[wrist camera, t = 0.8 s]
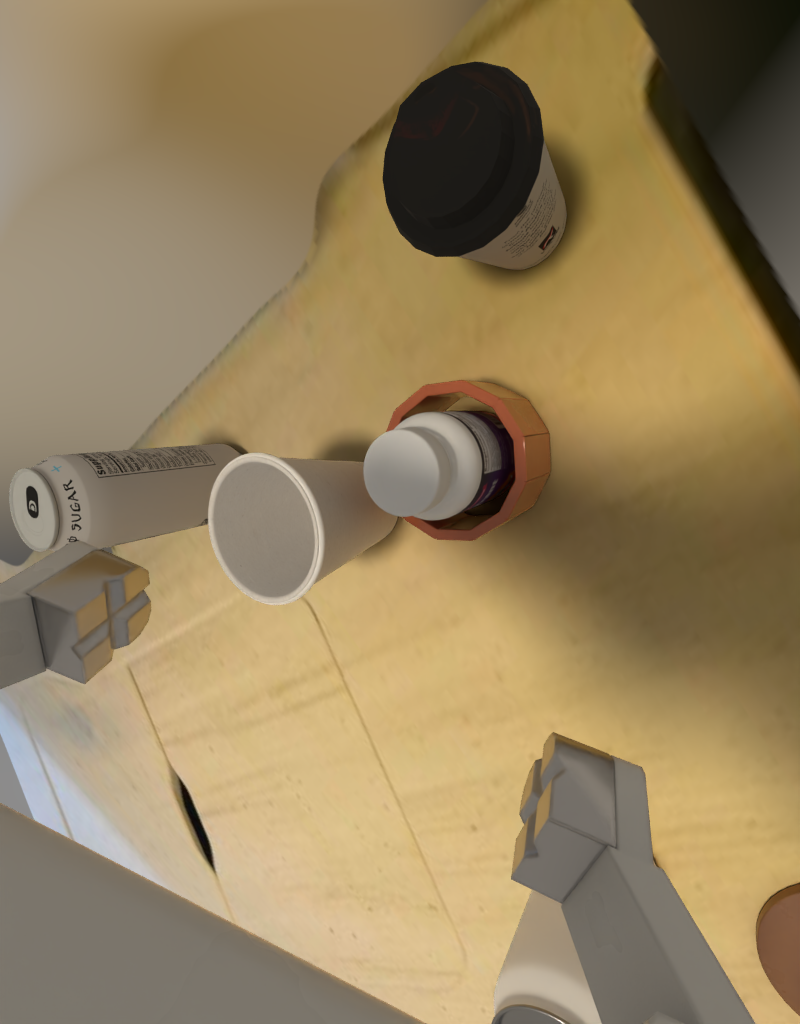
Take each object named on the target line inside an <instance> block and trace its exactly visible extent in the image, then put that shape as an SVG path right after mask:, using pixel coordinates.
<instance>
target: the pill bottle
mask: <svg viewBox="0 0 800 1024" xmlns="http://www.w3.org/2000/svg"><path fill="white" fill-rule="evenodd" d="M363 474H364V481H365V485H366V488H367V491H368V493H369V495H370V496H371V498H372V500H373V501H374V502H375V503H376V504H377V505H378V506H379V507H380V508H381V509H382V510H384V511H385V512H387V513H389V514H392V515H395V516H400V517H409V516H414V517H417V518H420V519H424V520H441V519H446V518H450V517H452V516H455V515H457V514H459V513H462V512H464V511H466V510H469V509H471V508H474V507H476V506H478V505H481V504H483V503H485V502H488V501H490V500H492V499H495V498H496V497H498V496H500V495H501V494H503V493H504V492H505V491H507V490H508V489H509V488H510V486H511V485H512V484H513V483H514V481H515V461H514V442H513V439H512V437H511V436H510V434H509V433H508V431H507V429H506V428H505V426H504V425H503V423H502V422H501V420H500V418H499V417H498V416H496V415H494V414H491V413H488V412H482V411H448V412H424V413H419V414H416V415H413V416H411V417H409V418H407V419H405V420H404V421H402V422H401V423H400V424H399V425H397V426H396V427H395V428H394V430H391V431H388V432H385V433H383V434H382V435H380V436H379V437H378V438H377V439H375V440H374V442H373V443H372V444H371V446H370V447H369V449H368V451H367V453H366V456H365V460H364V466H363Z"/></svg>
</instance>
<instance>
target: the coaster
mask: <svg viewBox="0 0 800 1024" xmlns="http://www.w3.org/2000/svg"><path fill="white" fill-rule="evenodd" d="M756 940H757V950H758V954H759V959H760V961H761V964H762V967H763V969H764V971H765V973H766V975H767V977H768V979H769V980H770V982H771V984H772V985H773V986H774V988H775V989H776V991H777V992H778V993H779V995H780V996H781V997H782V998H783V999H784V1001H785V1002H786V1003H787V1004H788V1005H789V1006H790V1007H791V1008H792V1009H793V1010H794V1011H795V1012H796V1013H797V1014H798V1015H799V1016H800V884H797V885H794V886H791V887H788V888H786V889H784V890H782V891H780V892H779V893H777V894H776V895H775V896H773V897H772V898H771V899H770V900H769V901H768V902H767V903H766V904H765V906H764V907H763V909H762V911H761V912H760V914H759V918H758V921H757V927H756Z"/></svg>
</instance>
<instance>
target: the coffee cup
mask: <svg viewBox="0 0 800 1024" xmlns="http://www.w3.org/2000/svg"><path fill="white" fill-rule="evenodd" d="M383 184H384V190H385V197H386V203H387V206H388V209H389V212H390V214H391V216H392V218H393V220H394V222H395V224H396V226H397V228H398V230H399V232H400V234H401V235H402V236H404V237H405V238H406V239H407V240H408V241H409V242H410V243H411V244H412V245H413V246H414V247H415V248H416V249H418V250H421V251H423V252H426V253H428V254H431V255H433V256H436V257H455V256H458V257H462V258H466V259H470V260H474V261H478V262H482V263H486V264H490V265H494V266H498V267H502V268H506V269H510V270H524V269H527V268H530V267H533V266H536V265H537V264H539V263H540V262H541V261H543V260H544V259H546V258H547V257H548V256H549V255H550V254H551V253H552V251H553V250H554V249H555V248H556V247H557V245H558V243H559V241H560V239H561V237H562V235H563V233H564V230H565V224H566V218H567V212H566V204H565V199H564V196H563V194H562V191H561V188H560V185H559V182H558V179H557V176H556V173H555V170H554V167H553V165H552V162H551V159H550V156H549V153H548V150H547V147H546V144H545V141H544V136H543V128H542V121H541V113H540V108H539V106H538V104H537V102H536V100H535V99H534V97H533V95H532V93H531V91H530V89H529V87H528V85H527V84H526V83H525V82H524V81H523V80H521V79H520V78H519V77H518V76H516V75H515V74H514V73H513V72H512V71H510V70H509V69H508V68H505V67H501V66H496V65H492V64H488V63H484V62H471V63H466V64H460V65H455V66H451V67H449V68H447V69H445V70H443V71H441V72H440V73H438V74H436V75H434V76H432V77H431V78H429V79H427V80H425V81H423V82H421V84H420V85H419V86H418V87H417V88H416V89H415V90H414V91H413V92H412V93H411V94H410V95H409V97H408V98H407V99H406V100H405V101H404V102H403V103H402V104H401V105H400V108H399V112H398V116H397V119H396V122H395V124H394V126H393V129H392V132H391V135H390V138H389V141H388V144H387V148H386V151H385V158H384V170H383Z"/></svg>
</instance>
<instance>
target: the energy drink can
mask: <svg viewBox="0 0 800 1024" xmlns="http://www.w3.org/2000/svg"><path fill="white" fill-rule="evenodd" d="M241 455H242V454H240V453H239V452H237V451H236V450H235V449H233V448H232V447H230V446H228V445H225V444H206V445H192V446H179V447H165V448H151V449H137V450H124V451H110V452H97V453H82V454H69V455H56V456H50V457H48V458H46V459H45V460H43V461H41V462H40V463H39V464H37V465H36V466H34V467H32V468H31V469H29V468H25V469H21V470H19V471H17V472H16V474H15V475H14V477H13V479H12V481H11V485H10V492H9V500H10V509H11V514H12V518H13V521H14V524H15V527H16V529H17V531H18V533H19V535H20V536H21V538H22V540H23V541H24V542H25V543H26V544H27V545H28V546H29V547H30V548H31V549H33V550H35V551H46V550H52V551H57V550H59V549H61V548H62V547H64V546H66V545H67V544H69V543H71V542H77V541H82V542H85V543H87V544H89V545H92V546H94V547H96V548H99V549H102V548H106V547H111V546H115V545H120V544H124V543H128V542H133V541H137V540H141V539H146V538H150V537H155V536H159V535H163V534H168V533H172V532H176V531H181V530H185V529H190V528H194V527H198V526H203V525H207V524H208V508H209V501H210V496H211V492H212V489H213V486H214V483H215V481H216V479H217V477H218V476H219V474H220V472H221V471H222V470H223V469H224V467H225V466H226V465H227V464H228V463H230V462H231V461H232V460H234V459H235V458H237V457H239V456H241Z"/></svg>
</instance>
